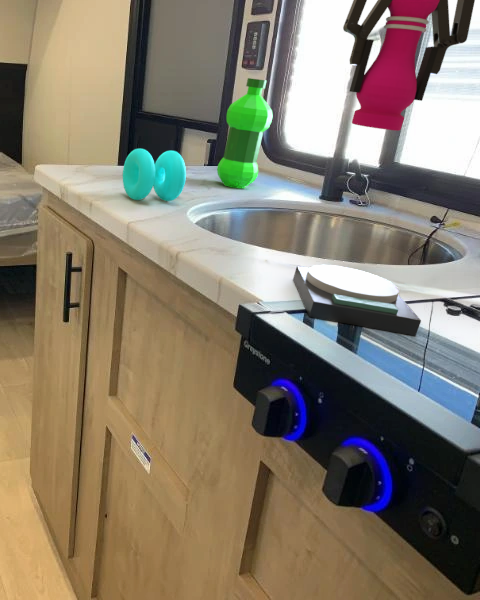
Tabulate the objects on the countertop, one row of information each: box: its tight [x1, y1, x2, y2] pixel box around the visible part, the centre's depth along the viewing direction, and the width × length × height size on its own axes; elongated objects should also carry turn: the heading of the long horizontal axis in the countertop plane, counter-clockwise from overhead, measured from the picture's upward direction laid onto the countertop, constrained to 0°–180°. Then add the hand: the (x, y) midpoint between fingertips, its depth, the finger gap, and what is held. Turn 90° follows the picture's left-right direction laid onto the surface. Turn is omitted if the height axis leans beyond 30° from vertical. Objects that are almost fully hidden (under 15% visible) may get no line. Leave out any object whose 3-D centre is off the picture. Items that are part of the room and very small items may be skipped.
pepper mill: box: [351, 0, 440, 132], centre depth 78 cm, size 7×7×20 cm
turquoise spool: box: [122, 147, 187, 202], centre depth 119 cm, size 10×10×10 cm
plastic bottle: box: [216, 77, 273, 189], centre depth 144 cm, size 10×10×25 cm
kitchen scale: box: [292, 264, 422, 337], centre depth 76 cm, size 12×14×3 cm
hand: (384, 95), depth 80 cm, fingers closed on pepper mill, 7 cm apart
